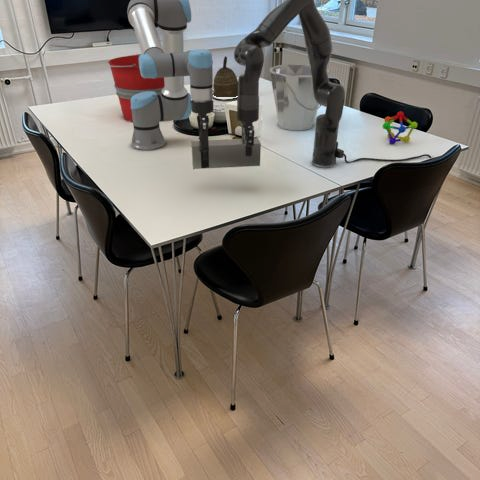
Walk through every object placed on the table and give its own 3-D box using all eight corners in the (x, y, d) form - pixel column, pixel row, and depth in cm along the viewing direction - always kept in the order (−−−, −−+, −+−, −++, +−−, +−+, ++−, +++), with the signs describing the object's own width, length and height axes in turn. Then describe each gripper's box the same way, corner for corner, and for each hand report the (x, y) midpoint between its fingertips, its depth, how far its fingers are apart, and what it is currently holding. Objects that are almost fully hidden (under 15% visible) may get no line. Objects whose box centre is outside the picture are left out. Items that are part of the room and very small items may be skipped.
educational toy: (377, 146, 209) (379, 114, 202) (384, 138, 219) (386, 107, 211) (411, 149, 202) (415, 116, 195) (417, 141, 212) (420, 109, 204)
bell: (227, 105, 294) (202, 96, 282) (238, 66, 289) (213, 55, 277) (243, 108, 280) (217, 98, 268) (255, 66, 275) (229, 55, 263)
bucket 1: (122, 106, 262) (115, 52, 246) (181, 107, 261) (178, 52, 245) (105, 124, 232) (96, 64, 216) (172, 125, 231) (167, 64, 216)
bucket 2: (296, 138, 215) (301, 78, 201) (255, 124, 234) (256, 68, 219) (335, 125, 232) (342, 70, 217) (294, 113, 251) (297, 61, 236)
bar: (193, 169, 159) (191, 146, 154) (192, 163, 163) (191, 140, 159) (260, 165, 162) (260, 143, 157) (257, 160, 166) (258, 138, 162)
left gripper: (215, 106, 142) (217, 173, 154) (210, 92, 157) (212, 154, 170) (192, 107, 141) (195, 175, 153) (189, 93, 156) (192, 155, 169)
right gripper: (262, 111, 147) (261, 159, 156) (255, 100, 159) (254, 145, 168) (240, 112, 146) (239, 160, 155) (234, 101, 158) (234, 146, 167)
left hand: (204, 164), depth 161 cm, fingers closed on bar, 6 cm apart
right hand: (247, 152), depth 161 cm, fingers closed on bar, 5 cm apart
